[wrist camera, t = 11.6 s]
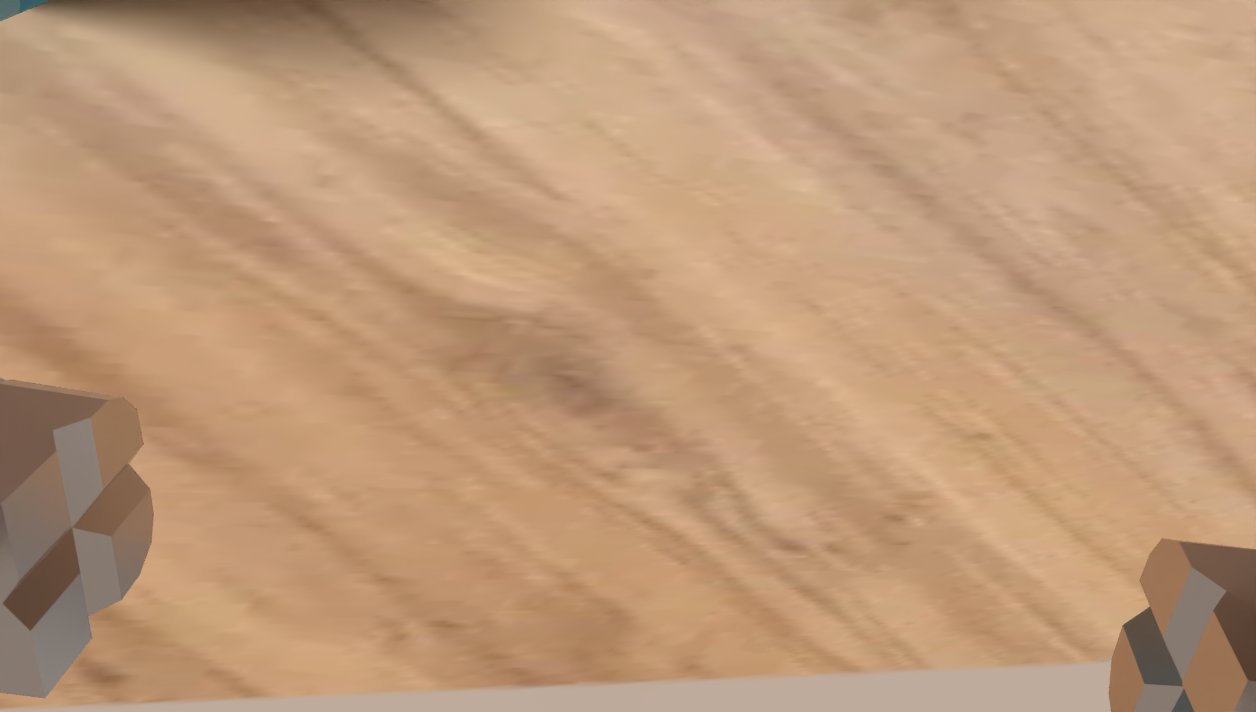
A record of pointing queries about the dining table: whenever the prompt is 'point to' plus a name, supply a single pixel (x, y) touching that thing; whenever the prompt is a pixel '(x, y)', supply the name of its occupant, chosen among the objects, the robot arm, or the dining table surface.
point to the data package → (16, 7)
